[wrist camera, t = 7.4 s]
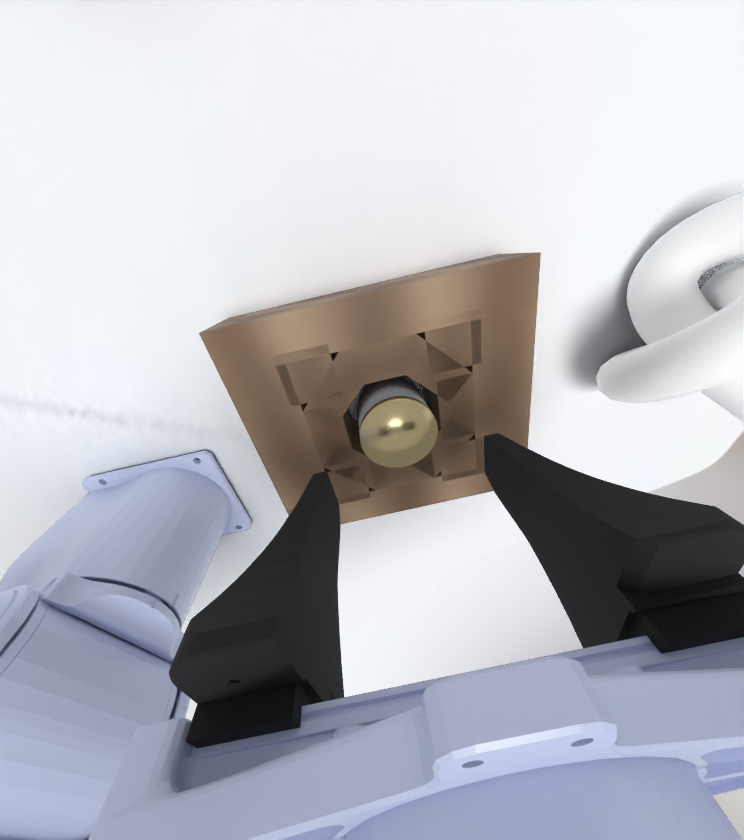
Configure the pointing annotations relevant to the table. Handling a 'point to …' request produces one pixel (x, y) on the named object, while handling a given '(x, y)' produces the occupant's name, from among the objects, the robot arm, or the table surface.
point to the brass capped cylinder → (395, 422)
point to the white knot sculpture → (687, 315)
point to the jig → (383, 359)
